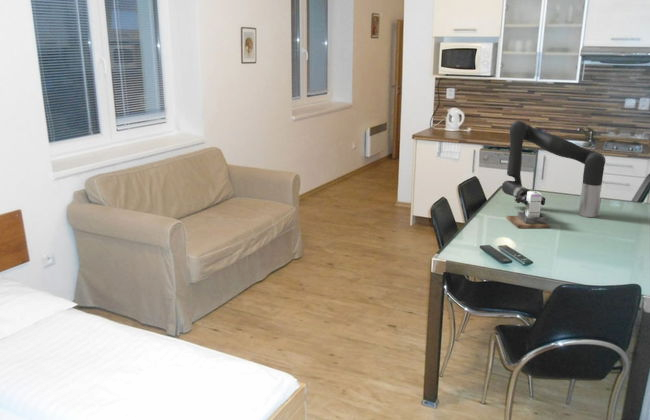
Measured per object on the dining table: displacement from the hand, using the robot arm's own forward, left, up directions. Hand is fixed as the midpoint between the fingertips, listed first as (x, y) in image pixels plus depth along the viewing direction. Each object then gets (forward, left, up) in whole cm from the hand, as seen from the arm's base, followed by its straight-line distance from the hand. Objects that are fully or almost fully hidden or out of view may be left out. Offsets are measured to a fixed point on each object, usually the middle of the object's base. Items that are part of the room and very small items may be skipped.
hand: (535, 203), depth 287 cm
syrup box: (0, -2, -10) cm, 10 cm away
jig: (+2, -2, -11) cm, 11 cm away
